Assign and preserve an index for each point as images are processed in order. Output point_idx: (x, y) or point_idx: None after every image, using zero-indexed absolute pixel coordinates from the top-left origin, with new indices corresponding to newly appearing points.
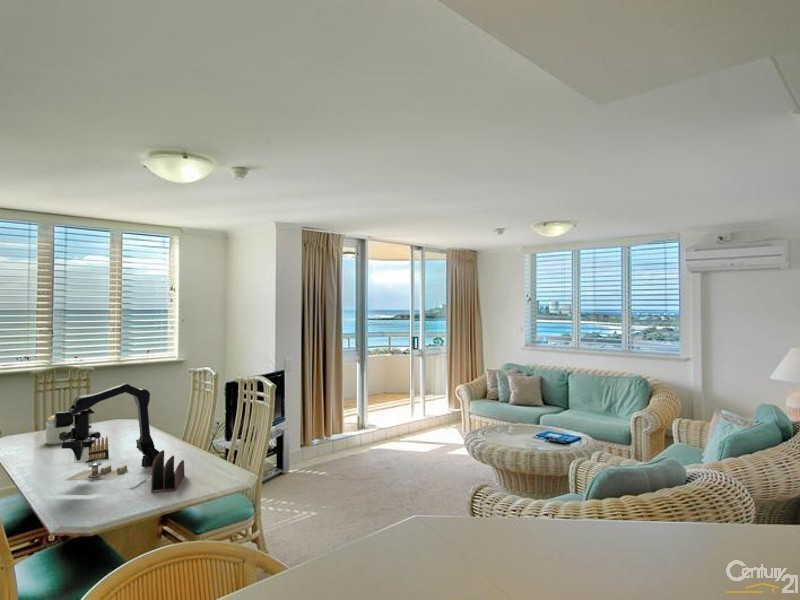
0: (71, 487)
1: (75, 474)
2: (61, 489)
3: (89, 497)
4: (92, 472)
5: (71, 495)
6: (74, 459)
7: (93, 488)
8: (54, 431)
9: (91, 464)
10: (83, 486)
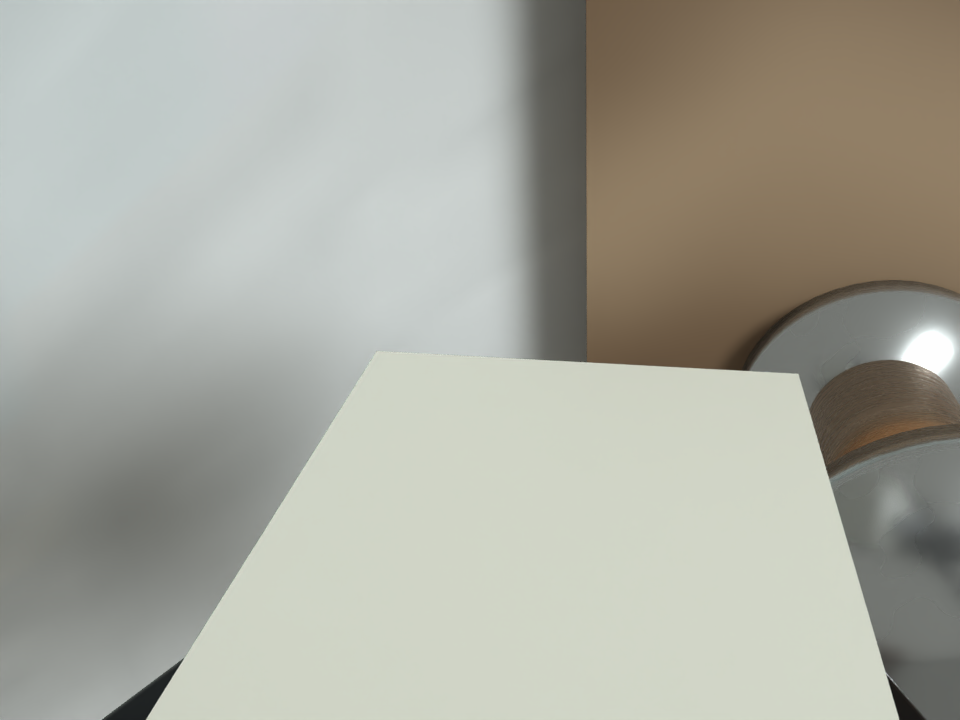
0: (352, 187)
1: None
2: (222, 50)
3: (58, 666)
4: (828, 439)
5: (40, 422)
6: (325, 452)
7: None
8: None
9: (915, 536)
10: None
